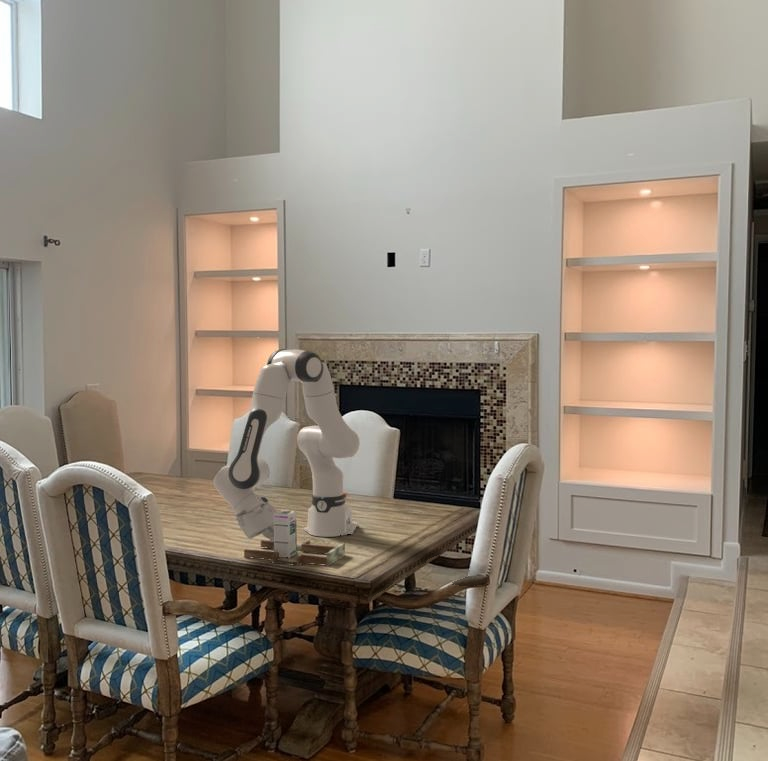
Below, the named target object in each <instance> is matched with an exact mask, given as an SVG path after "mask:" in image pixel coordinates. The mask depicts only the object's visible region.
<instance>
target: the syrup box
mask: <svg viewBox="0 0 768 761" xmlns="http://www.w3.org/2000/svg"><path fill="white" fill-rule="evenodd" d="M297 532H298V531H297V510H290V509H281V510H280V511H277V513H275V514H274V549H273V552H279V558H281V557H288V558H287V559H291V558H292V557H293V556H295V555H296V554H298V551H297V546H298V544H297V543H298V542H297V541H298V540H297V539H298V538H297V534H298V533H297ZM291 556H292V557H291Z"/></svg>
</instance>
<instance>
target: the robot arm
mask: <svg viewBox="0 0 768 761" xmlns="http://www.w3.org/2000/svg"><path fill="white" fill-rule="evenodd" d="M291 382H300V383H301V387H302V388H301V389H302V394H303V399H304V405H305V411H306V413H307V416H308V418H310V420H312V421H314V422H315V423H316V424H317V425H308V426H304V427H302V428H301V429H300V430H299V432H298V434H297V437H296V444H297V447H298V449H299V451H301V452H302V453H303V454H304V456H305V458H306V460H307V462H308V463H309V467H310V470H311V476H312V494H311V498H310V499H311V506H310V507H309V508H308V512H307V526H304V528H303V530H304V532H306V533H308V534H309V535H311V536H315V537H321V538H323V537H324V538H325V537H326V538H327V537H330V538H333V537H340V535H341V536H348V535H347V534H351V535H353V534H354V533H355V531H356V530H357V528H358V526H359V524H358V522H357V521H353V516H352V515H353V513H352V510H351V509H350V508H349V507H348V506H347V504H346V498H347V492H344V474H343V473H344V472H343V471H342V470H341V469H340V468H339V467H338V466H337V465H336V464H335V462H334V459H335V458H336V459H348V458H352V457H354V456H355V455H356V454H357V453H358V451H359V449H360V438H359V435H358V434H357V433H356V431H355V430H353V429H352V428H351V427H350V426H349V425H348V424H347V423H346V421H345V420H344V418H343V416H342V414H341V412H340V411H339V407H338V404H337V398H336V394H335V389H334V383H333V379H332V376H331V374H330V370H329V367H328V366H327V364H326V363H324V362H323V361H322V358H321V357H320V356H319V355H318V354H317V353H316V352H313V351H310V350H303V349H297V348H296V349H295V348H294V349H285V348H282V349H278V350H275V351H274V352H272V353H271V354H270V355H269V357H268V359H267V363H266V364H265V365H264V366H263V367H261V369H260V371H259V374H258V375H257V378H256V381H255V384H254V388H253V391H252V392H253V393H252V397H251V401H250V407H249V412H248V417H247V421H246V423H245V424H246V425H245V427H244V430H243V434H242V437H241V438H242V439H241V442H240V445H239V449H238V452H237V455H236V457H234V459H233V461H232V462H231V463H230V465H229V464H227V465H224V466H222V467H221V468H220V469H219V470H218V471H217V472H216V473H215V475H214V476H213V485H214V487H215V489H216V490H217V492H218V493H219V495H220V497H222V499H223V500H224V501H225V502H227V504H229V505H230V506H231V508H232V509H231V510H233V512H234V513H235V515H236V517H235V518H236V520H237V524H238V527H239V528H240V530H241V531H242V532H243V534H244V535H245V536H246V538H248V539H254V538H256V537H257V536H259V535H261V534H262V535H263V537H265V538H267V540H268V541H271V542H274V514H275V513H277V512H278V511H277V509H276V508H275V507H274V505H272V504H271V503H270V499H268V497H266V496H259V495H257V494H256V493H255V492H254V491H255V489H257V488H259V487H260V486H262V485H264V484H265V483H266V482H267V481H268V480H269V477H270V467H269V465H268V464H267V462H266V461H265V460H263V459H261V458H258V457H259V453H260V449H261V445H262V443H263V440H264V439H263V438H264V435H265V433H266V431H267V429H268V428H269V427H270V426H271V425H273V424H274V423H276V422H277V421H278V420H279V419H280V417H281V416H282V413H283V410H284V407H285V404H286V399H287V398H286V396H287V391H288V387H289V385H290V383H291ZM333 458H334V459H333ZM356 527H357V528H356ZM354 530H355V531H354Z"/></svg>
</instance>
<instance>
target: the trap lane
mask: <svg viewBox="0 0 768 761" xmlns="http://www.w3.org/2000/svg"><path fill="white" fill-rule="evenodd" d="M261 547H267V548H274V542H271V541H270V540H268V539H267V540H265V539H261V540H260V548H261ZM297 550H301V551H305V552H304V553H309V552H317V553H316V554H319V553H327V554H326V556H320V555H311V554H310V555H309V554H300V555H299V556H297V557H296V561H294V560H293V562H291V560H283V559H280V557H279V552H274V551H270V550H269V551H268V550H267V551H266V550H257V549H248V548H247V549H244V550H243V555H244V556H243V557H244V558H245V557H253V558H252V559H255V558H264V559H263V560H265V559H271V560H270V563H271V562H273V563H272V564H275V563H282V564H281V565H285V564H293V565H292V566H295V565H300V564H301V563H303V564H305V563H314V564H313V565H315V564H325V565H331V564H332V563H334V562H335V561H336V560H338V559H339V558H340V557H342V556H343V555H344V554H345V555H346V542H340V543H339V544H338V545H336V546H331V545H323V544H322V545H321V544H311V540H306V541H305V542H303V543H301V545H297ZM301 551H300V552H301ZM345 555H344V556H345ZM344 556H343V557H344ZM343 557H342V558H343ZM278 559H279V560H278ZM340 559H341V558H340ZM340 559H339V560H340ZM339 560H338V561H339ZM289 561H290V562H289ZM336 562H337V561H336ZM336 562H335V563H336ZM335 563H334V564H335ZM301 565H302V564H301ZM301 565H300V566H301ZM325 565H324V566H325ZM332 565H333V564H332ZM332 565H331V566H332Z"/></svg>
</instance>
